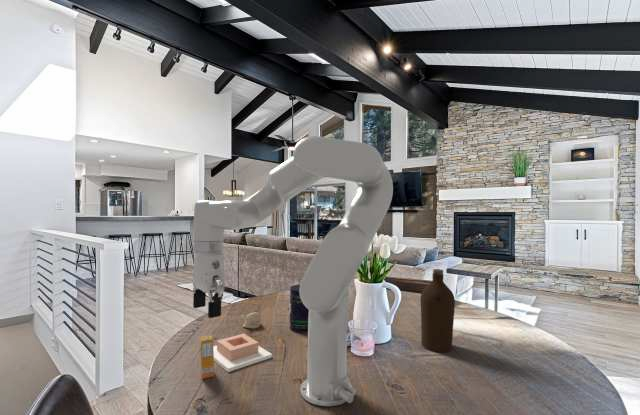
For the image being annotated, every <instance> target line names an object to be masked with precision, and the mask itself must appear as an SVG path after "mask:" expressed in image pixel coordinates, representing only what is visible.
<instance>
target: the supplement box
mask: <svg viewBox="0 0 640 415" xmlns="http://www.w3.org/2000/svg"><path fill="white" fill-rule="evenodd" d="M213 346H214V337H213V335H212V334H211V335H207V336H201V337H200V376H201V379H202V380H203V379H210V378H214V377H215V361H214V352H213Z"/></svg>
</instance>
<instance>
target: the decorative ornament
mask: <svg viewBox="0 0 640 415" xmlns="http://www.w3.org/2000/svg"><path fill="white" fill-rule="evenodd" d="M241 318H243V319H244V322H243V323H244V324H243V325H242V327H243V328H247V329H257V328H259V327H260V326H261V325H262V322H261V319H262V318H261V314H260V313H259V312H256V311H255V312H250V313H249V314H247V315H246V314H241Z"/></svg>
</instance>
